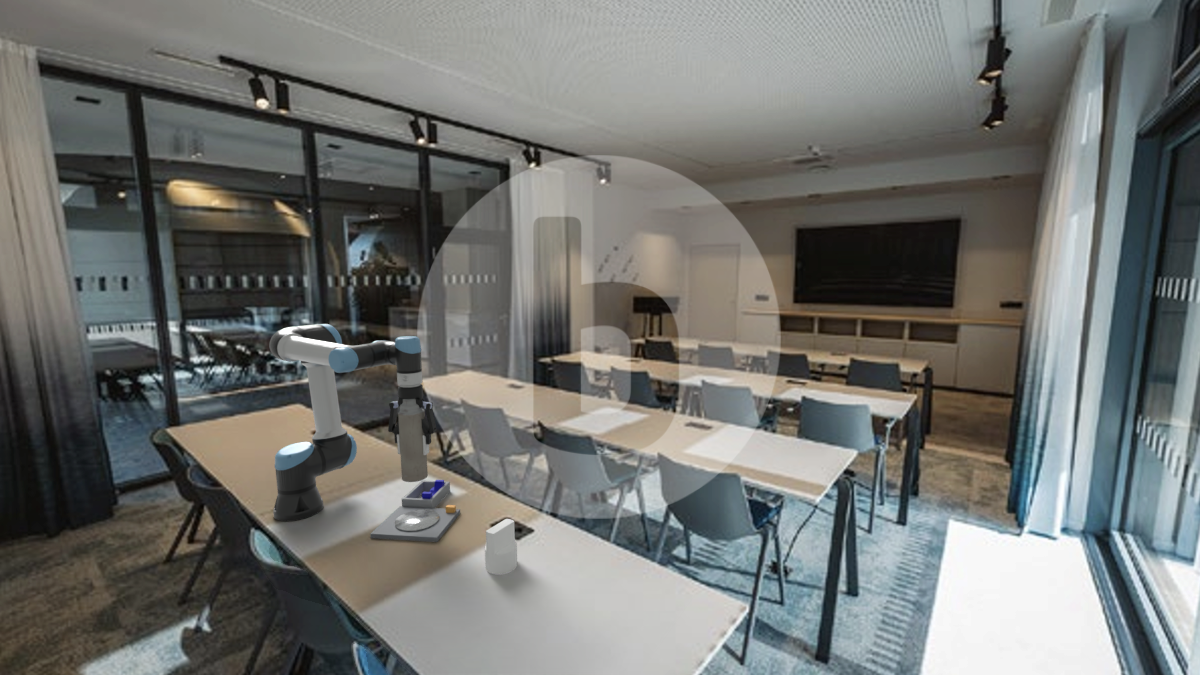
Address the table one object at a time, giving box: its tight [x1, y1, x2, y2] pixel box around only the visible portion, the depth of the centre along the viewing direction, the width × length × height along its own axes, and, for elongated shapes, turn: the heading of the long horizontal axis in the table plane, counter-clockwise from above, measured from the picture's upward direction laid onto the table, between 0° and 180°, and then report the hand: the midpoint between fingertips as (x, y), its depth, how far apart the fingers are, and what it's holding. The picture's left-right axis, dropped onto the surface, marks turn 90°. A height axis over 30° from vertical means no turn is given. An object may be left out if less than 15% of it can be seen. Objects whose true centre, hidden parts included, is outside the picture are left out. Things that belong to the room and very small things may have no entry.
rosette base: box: [369, 504, 461, 543], centre depth 170 cm, size 22×19×4 cm
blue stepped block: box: [421, 479, 445, 499], centre depth 187 cm, size 12×4×6 cm, turn 174°
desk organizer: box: [401, 480, 451, 508], centre depth 188 cm, size 11×16×4 cm
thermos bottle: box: [397, 399, 429, 483], centre depth 166 cm, size 8×8×28 cm
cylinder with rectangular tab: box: [484, 518, 518, 576], centre depth 146 cm, size 9×9×12 cm
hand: (413, 453), depth 167 cm, fingers closed on thermos bottle, 8 cm apart
